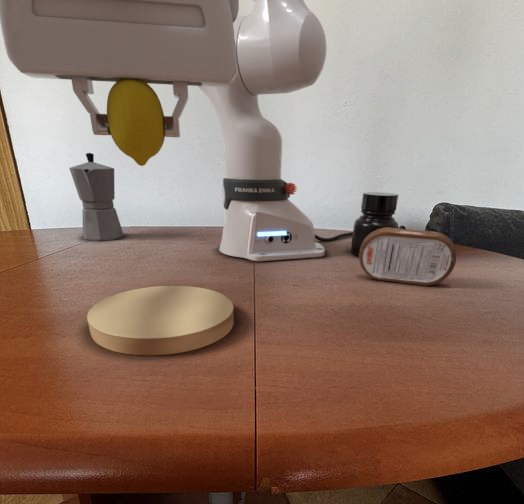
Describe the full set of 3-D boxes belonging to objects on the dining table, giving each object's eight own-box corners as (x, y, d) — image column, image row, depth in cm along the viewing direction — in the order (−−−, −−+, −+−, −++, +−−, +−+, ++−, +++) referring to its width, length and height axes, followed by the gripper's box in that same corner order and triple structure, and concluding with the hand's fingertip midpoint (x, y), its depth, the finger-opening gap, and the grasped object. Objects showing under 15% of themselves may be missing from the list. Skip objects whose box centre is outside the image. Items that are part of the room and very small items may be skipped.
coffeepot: (121, 242, 86) (107, 153, 78) (76, 243, 84) (58, 152, 76) (127, 230, 99) (117, 153, 91) (89, 230, 98) (75, 152, 89)
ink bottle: (393, 251, 83) (403, 192, 78) (396, 261, 76) (408, 197, 70) (348, 248, 85) (355, 191, 80) (347, 257, 78) (355, 194, 72)
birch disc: (228, 297, 55) (227, 283, 54) (240, 350, 40) (240, 333, 39) (106, 301, 53) (104, 287, 52) (72, 360, 38) (67, 342, 37)
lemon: (121, 164, 42) (109, 76, 38) (171, 165, 42) (164, 78, 39) (107, 166, 37) (91, 65, 33) (164, 167, 37) (155, 68, 34)
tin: (448, 284, 63) (461, 232, 59) (450, 290, 60) (464, 236, 56) (356, 274, 67) (363, 225, 63) (354, 279, 64) (361, 228, 60)
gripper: (235, -25, 36) (236, 139, 43) (3, -47, 33) (42, 134, 40) (242, -57, 31) (242, 138, 37) (-35, -86, 28) (17, 131, 34)
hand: (137, 136), depth 38 cm, fingers closed on lemon, 5 cm apart
